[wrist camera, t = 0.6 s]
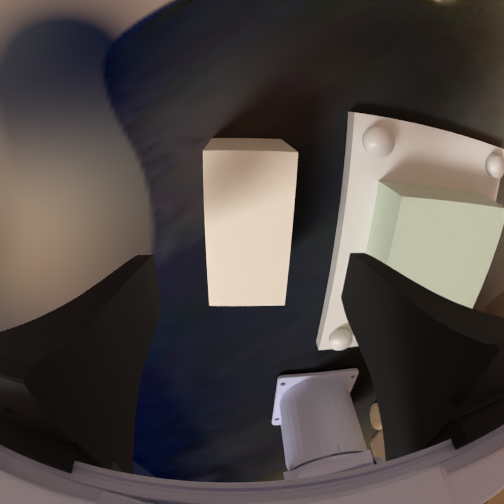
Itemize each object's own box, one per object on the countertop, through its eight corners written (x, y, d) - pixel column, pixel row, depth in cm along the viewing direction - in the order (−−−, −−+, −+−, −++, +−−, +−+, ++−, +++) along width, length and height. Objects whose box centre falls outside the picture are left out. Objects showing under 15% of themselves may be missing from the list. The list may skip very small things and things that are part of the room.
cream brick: (274, 259, 20) (284, 305, 16) (214, 259, 20) (209, 305, 16) (281, 139, 16) (298, 152, 12) (212, 138, 16) (202, 150, 12)
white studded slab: (443, 325, 25) (462, 351, 21) (316, 341, 24) (326, 377, 20) (497, 146, 16) (531, 159, 13) (348, 111, 15) (377, 115, 12)
